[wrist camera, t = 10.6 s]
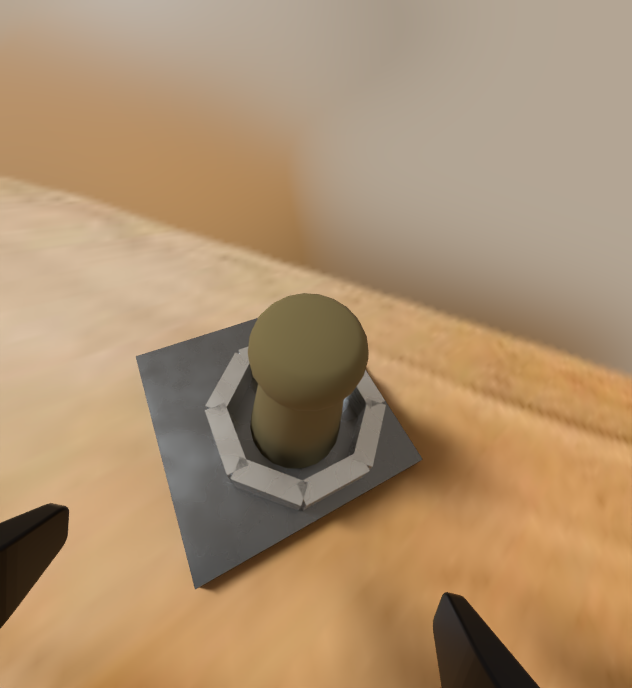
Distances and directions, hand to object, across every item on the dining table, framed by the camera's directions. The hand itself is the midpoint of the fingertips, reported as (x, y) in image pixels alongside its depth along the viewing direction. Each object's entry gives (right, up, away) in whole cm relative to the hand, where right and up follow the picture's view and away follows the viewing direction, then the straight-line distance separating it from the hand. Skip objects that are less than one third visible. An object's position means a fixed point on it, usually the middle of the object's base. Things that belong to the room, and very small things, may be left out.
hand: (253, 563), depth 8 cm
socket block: (-2, 0, +16) cm, 16 cm away
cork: (0, 0, +14) cm, 14 cm away
